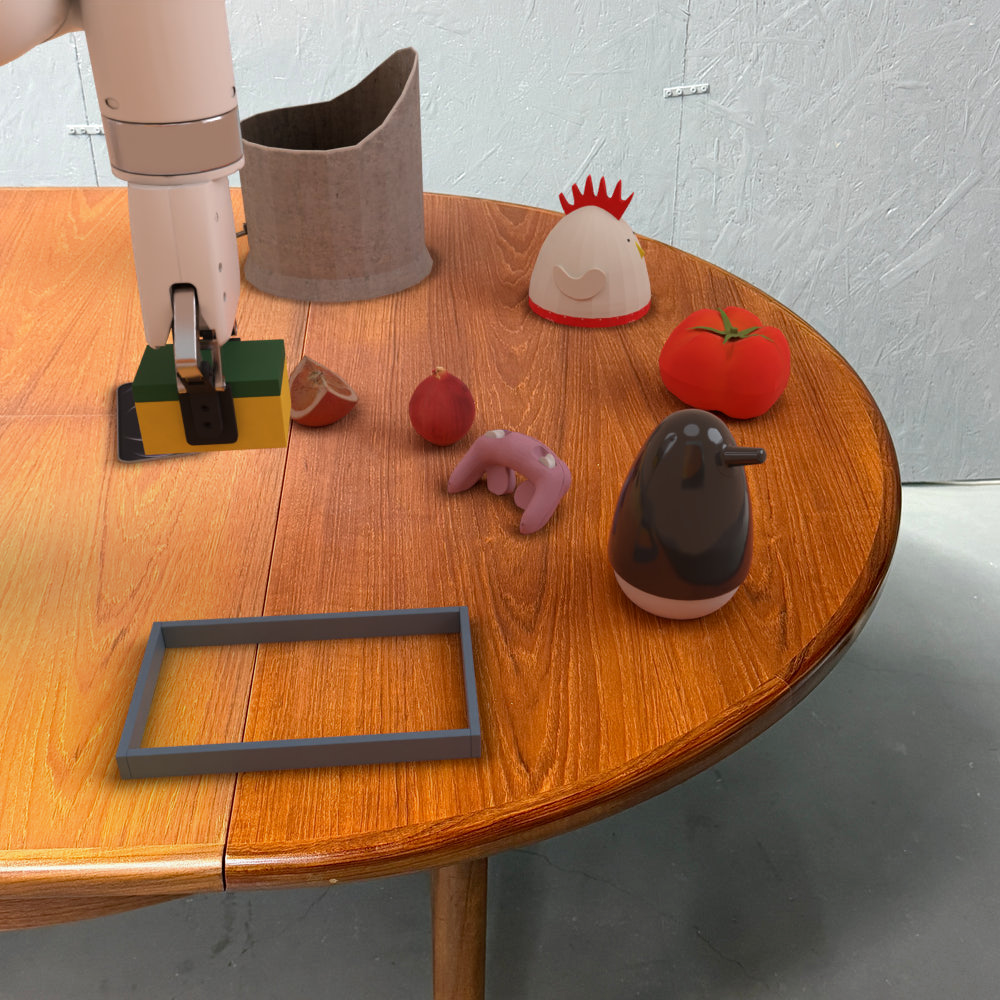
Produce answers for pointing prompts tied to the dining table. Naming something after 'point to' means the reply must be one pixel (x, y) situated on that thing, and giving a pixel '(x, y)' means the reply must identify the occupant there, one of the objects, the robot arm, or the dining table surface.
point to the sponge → (254, 390)
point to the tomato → (726, 362)
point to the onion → (442, 408)
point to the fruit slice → (319, 394)
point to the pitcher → (338, 191)
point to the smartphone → (133, 431)
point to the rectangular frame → (305, 750)
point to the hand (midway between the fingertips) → (218, 414)
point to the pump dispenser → (685, 518)
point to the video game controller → (500, 460)
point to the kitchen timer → (591, 264)
